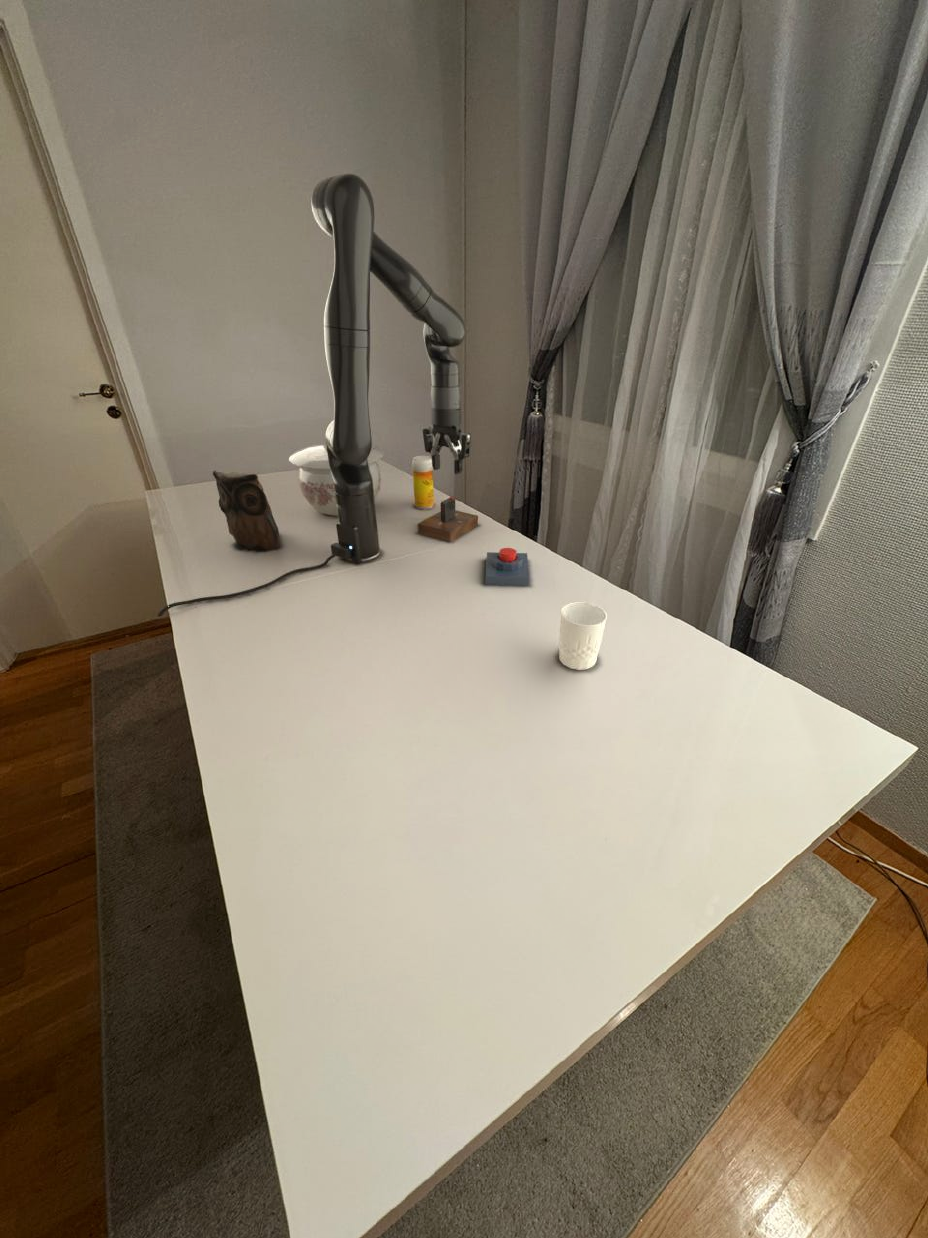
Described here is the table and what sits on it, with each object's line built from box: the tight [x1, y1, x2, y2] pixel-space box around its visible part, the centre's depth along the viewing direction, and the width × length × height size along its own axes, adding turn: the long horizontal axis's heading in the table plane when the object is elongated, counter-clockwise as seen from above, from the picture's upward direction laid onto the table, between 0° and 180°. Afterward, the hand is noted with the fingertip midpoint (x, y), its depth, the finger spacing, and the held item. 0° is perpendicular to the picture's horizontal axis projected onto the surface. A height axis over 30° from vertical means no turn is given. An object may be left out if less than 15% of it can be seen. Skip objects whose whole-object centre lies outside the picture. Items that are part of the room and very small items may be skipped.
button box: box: [484, 551, 530, 587], centre depth 124 cm, size 13×10×4 cm
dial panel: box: [417, 509, 479, 543], centre depth 147 cm, size 14×11×3 cm
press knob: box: [498, 547, 517, 562], centre depth 123 cm, size 4×4×2 cm
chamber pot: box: [288, 442, 385, 517], centre depth 156 cm, size 28×28×21 cm
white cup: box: [558, 601, 608, 671], centre depth 93 cm, size 8×8×10 cm
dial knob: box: [440, 496, 456, 522], centre depth 144 cm, size 5×2×6 cm, turn 146°
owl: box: [212, 470, 281, 553], centre depth 134 cm, size 13×13×20 cm
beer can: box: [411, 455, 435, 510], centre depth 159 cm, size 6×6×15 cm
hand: (447, 471), depth 138 cm, fingers open, 6 cm apart
